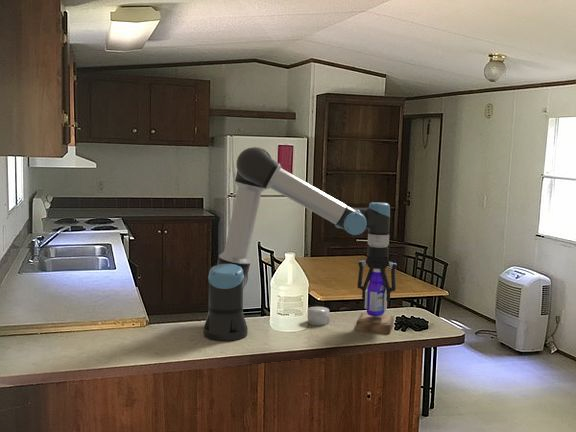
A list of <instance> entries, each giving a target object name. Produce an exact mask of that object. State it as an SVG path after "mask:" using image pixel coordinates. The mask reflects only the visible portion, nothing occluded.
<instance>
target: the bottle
mask: <svg viewBox="0 0 576 432" xmlns="http://www.w3.org/2000/svg"><path fill="white" fill-rule="evenodd" d="M367 290H368V292H367V309H366V314H368V315H370V316H375V317H376V316H381V315H384V314H385V310H384V293H385V291H386V287H385V284H384V280H383V277H382V274H381V271H380V269H378V268H373V271H372V274H371V277H370V279H369V283H368V285H367Z"/></svg>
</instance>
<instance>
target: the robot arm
mask: <svg viewBox="0 0 576 432" xmlns="http://www.w3.org/2000/svg"><path fill="white" fill-rule="evenodd" d="M235 166H236V175H235V179H234V183H235V185H236V187H237V191H236V197H235V200H234V204H233V209H232V215H231V218H230V223H229V227H228V232H227V237H226V242H225V246H224V247H225V248H224V251H223V252H222V253H220V254H219V255H218V258H217V263H216V265H214V266H212V267H211V268H210V269H209V272H208V276H207V280H208V311H207V312H208V313H207V317H206V318H205V322H204V325H203V329H202V332H203V334H202V335H203V336H204V337H205V338H206V339H208V340H212V341H220V342H222V341H223V342H226V341H227V342H228V341H229V342H231V341H236V340H242V339H244V338H245V337H246V338H247V336H248V334H249V333H248V331H249V329H248V325H247V321H246V319H245V315H244V311H243V309H244V307H243V306H244V297H243V296H244V289H245V287H246V285H247V283H248V280H249V271H250V266H251V260H250V259H249V251H250V246H251V242H252V237H253V234H254V233H253V232H254V229H255V224H256V220H257V214H258V210H259V205H260V201H261V196H262V193H263V192H264V191H266V190H268V189H272V190H273V191H275V192H277V193H279V194H281V195H282V196H284V197H286V198H287V199H290V200H291V201H293V202H294V203H297V204H298V205H300V206H302V207H304V208H305V209H307V210H309V211H310V212H313V213H314V214H316V215H317V216H320V217H322V218H323V219H325V220H327V221H329V222H330V223H331V224H334V226H335V228H337V229H342V230H343V231H345V232H347V233H348V234H350V235H352V236H358V235H361V234H363V233H364V232H365V230H368V231H367V245H368V246H367V254H366V255H367V256H366V259H364V260H359V261H358V262H357V263H358V267H359V270H358V279H357V289H360V290H361V291H362V293H361V295H362V296H361V298H362V300H364V309H365V310H367V292H368V285H369V283H370V281H369V279H370V277H371V274H372V271H373V268H378V269H380V271H381V274H382V277H383V280H384V284H385V287H386V291H385V293H384V310H385V311H387V307H388V302H390V300H391V292H392V293H393V292H395V291H396V289H397V288H396V287H397V285H396V282H397V280H396V269H397V265H398V264H397V263H396V262H392V261H390V259H389V252H390V251H389V249H390V247H389V245H390V225H391V224H390V223H391V205H390V204H389V203H387V202H373V201H372V202H370V203H369V205H368V207H351V206H349V205H347V204H345V203H344V202H342V201H340V200H339V199H336V198H334V197H333V196H331V195H330V194H327V193H326V192H324V191H323V190H320V189H319V188H317V187H316V186H314V185H312V184H310V183H308V182H307V181H305V180H303V179H301V178H299V177H298V176H296V175H294V174H292V173H291V172H288V170H286V169H284V168H282V166H281V163H279V162H277V161H276V160H274V159H272V156H271V155H270V153H269V152H268V151H267V150H265V149H264V148H262V147H256V146H254V147H252V146H251V147H248V148H246V149H245V148H244V150H242V151H241V152H240V153H239V154H238V156H237V158H236V165H235ZM366 265H367V267H368V268H369V269H368V272H367V275H366V278H365V280H364V283H363V277H364V271H365V270H364V267H365V266H366ZM388 266H389V268H390V271H391V272H390V273H391V276H390V277H391V280H390V281H391V286H390V282H389V278H388V276H387V270H386V268H387V267H388Z"/></svg>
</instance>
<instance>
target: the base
mask: <svg viewBox="0 0 576 432" xmlns="http://www.w3.org/2000/svg"><path fill="white" fill-rule="evenodd" d="M394 318H395V316H394V315H384V314H383V315H381V316H376V317H375V316H370V315H368V314H367V313H366V312H365V313H362V312H361V313H360V315H359V317H358V318H357V320H356V325H355V326H356V328H355V330H356V331H362V332H364V331H365V332H373V333H374V332H375V333H381V334H382V333H383V334H391V332H392V329H393V326H394V321H395V319H394Z"/></svg>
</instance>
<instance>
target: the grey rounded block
mask: <svg viewBox="0 0 576 432" xmlns="http://www.w3.org/2000/svg"><path fill="white" fill-rule="evenodd" d="M307 318H308V322H309V323H310V324H309V323H308V322H307V323H308V324H309V325H311V324H312V326H327V325H329V324H330V309H329V308H328V307H325V306H311V307H308V308H307ZM326 324H327V325H326Z"/></svg>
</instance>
